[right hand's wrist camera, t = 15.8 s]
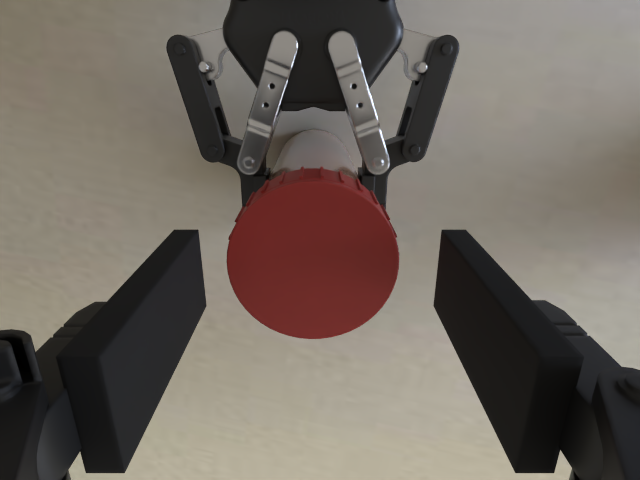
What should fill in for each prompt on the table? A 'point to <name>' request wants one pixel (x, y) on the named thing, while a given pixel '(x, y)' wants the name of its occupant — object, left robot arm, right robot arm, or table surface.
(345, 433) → the table surface
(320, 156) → the jar
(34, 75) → the table surface
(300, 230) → the lid
